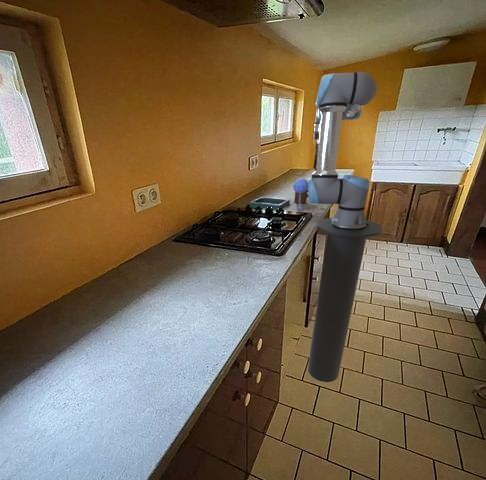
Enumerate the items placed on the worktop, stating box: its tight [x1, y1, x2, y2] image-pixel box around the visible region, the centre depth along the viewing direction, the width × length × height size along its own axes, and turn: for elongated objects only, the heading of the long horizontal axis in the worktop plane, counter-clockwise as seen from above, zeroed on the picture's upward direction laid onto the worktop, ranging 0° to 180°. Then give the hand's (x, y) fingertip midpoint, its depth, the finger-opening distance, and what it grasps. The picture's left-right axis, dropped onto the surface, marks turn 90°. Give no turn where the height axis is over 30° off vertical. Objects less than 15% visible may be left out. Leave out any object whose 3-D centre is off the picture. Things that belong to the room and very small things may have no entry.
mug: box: [293, 189, 309, 205], centre depth 195 cm, size 12×8×9 cm, turn 73°
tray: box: [249, 196, 291, 211], centre depth 192 cm, size 20×18×3 cm
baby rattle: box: [292, 177, 308, 211], centre depth 177 cm, size 9×9×18 cm
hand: (316, 169), depth 189 cm, fingers open, 13 cm apart
